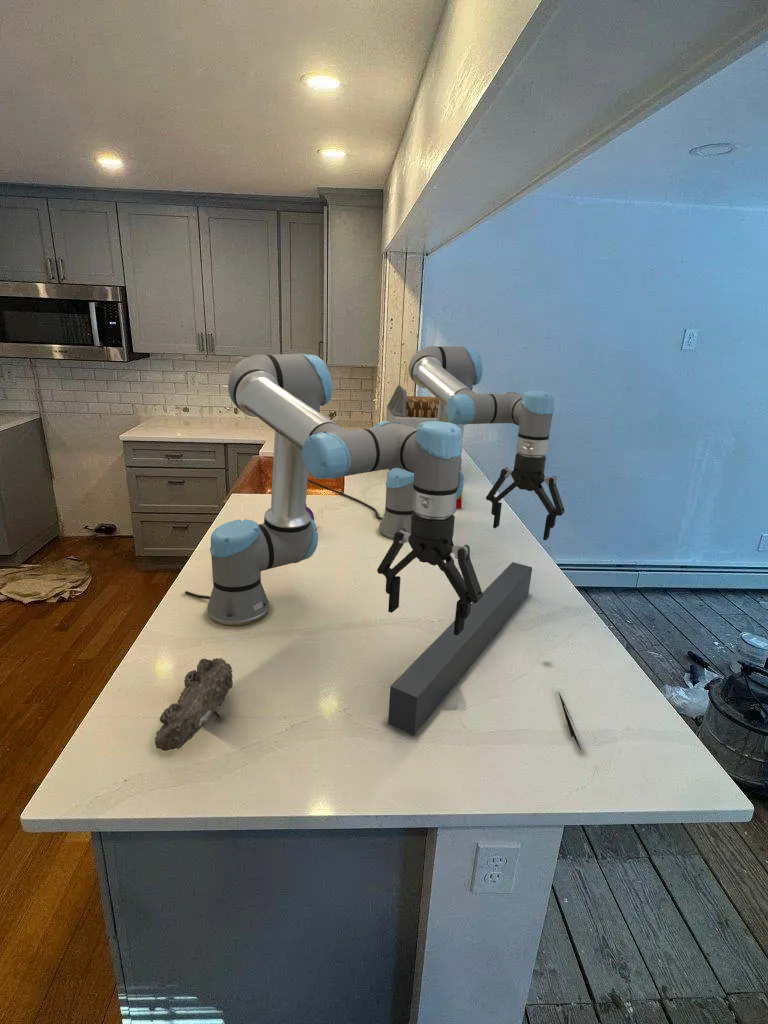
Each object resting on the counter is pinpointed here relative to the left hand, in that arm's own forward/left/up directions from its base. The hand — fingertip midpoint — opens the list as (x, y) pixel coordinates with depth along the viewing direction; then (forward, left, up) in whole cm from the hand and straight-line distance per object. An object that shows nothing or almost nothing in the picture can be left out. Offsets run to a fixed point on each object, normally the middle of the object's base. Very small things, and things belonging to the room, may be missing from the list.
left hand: (425, 620), depth 105 cm
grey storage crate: (-124, +121, -21) cm, 174 cm away
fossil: (-25, -34, -21) cm, 47 cm away
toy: (-91, +103, -21) cm, 139 cm away
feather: (+16, +25, -21) cm, 36 cm away
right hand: (-17, +52, 0) cm, 55 cm away
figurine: (-95, +34, -21) cm, 103 cm away
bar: (-9, +26, -21) cm, 34 cm away
